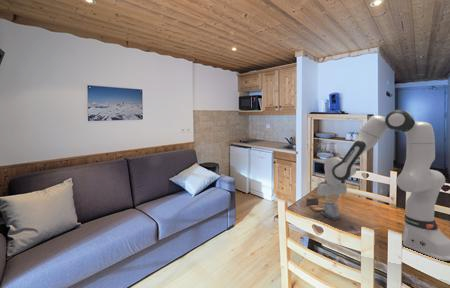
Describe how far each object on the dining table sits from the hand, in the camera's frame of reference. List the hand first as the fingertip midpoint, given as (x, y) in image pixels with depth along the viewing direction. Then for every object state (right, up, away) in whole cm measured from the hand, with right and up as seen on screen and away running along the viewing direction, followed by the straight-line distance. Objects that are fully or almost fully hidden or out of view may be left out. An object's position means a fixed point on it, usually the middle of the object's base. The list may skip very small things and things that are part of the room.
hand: (331, 201), depth 146 cm
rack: (-4, -10, +15) cm, 18 cm away
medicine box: (0, -11, +1) cm, 11 cm away
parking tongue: (0, -10, +1) cm, 10 cm away
